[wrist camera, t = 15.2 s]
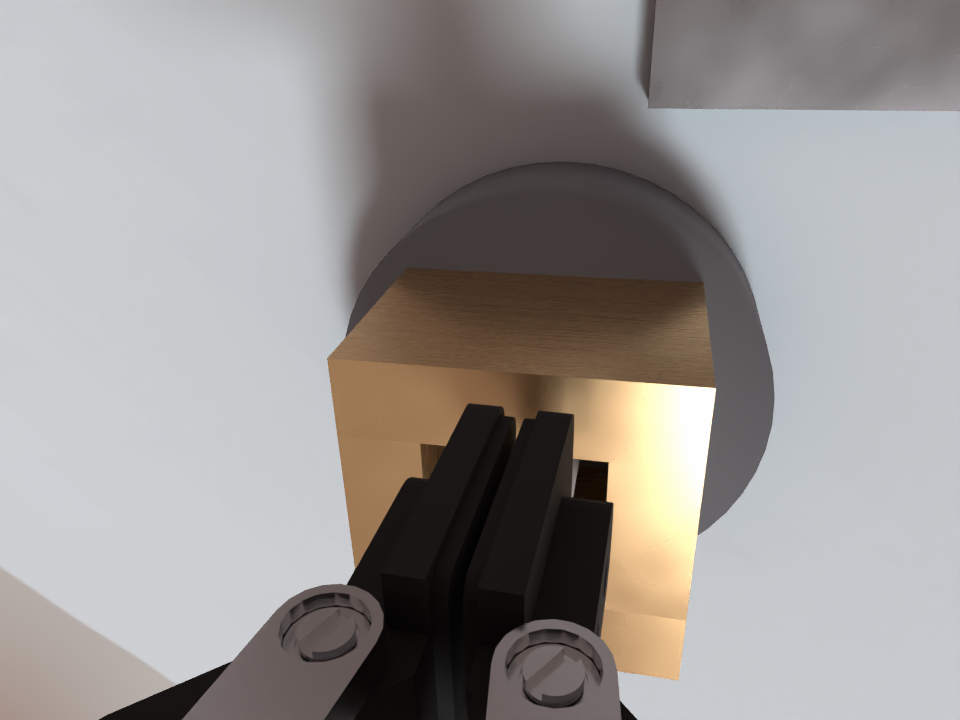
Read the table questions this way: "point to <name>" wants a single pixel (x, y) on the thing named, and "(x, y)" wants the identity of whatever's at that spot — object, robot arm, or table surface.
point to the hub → (610, 254)
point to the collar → (547, 387)
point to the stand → (806, 55)
